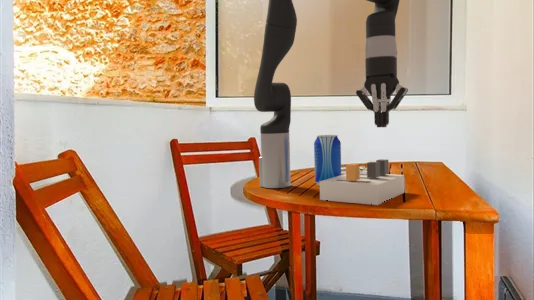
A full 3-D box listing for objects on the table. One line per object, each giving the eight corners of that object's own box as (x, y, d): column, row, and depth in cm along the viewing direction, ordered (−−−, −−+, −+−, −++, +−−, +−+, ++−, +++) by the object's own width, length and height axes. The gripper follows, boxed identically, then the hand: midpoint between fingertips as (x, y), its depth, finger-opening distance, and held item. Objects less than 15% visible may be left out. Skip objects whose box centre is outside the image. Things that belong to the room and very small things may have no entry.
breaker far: (376, 174, 127) (376, 160, 127) (380, 173, 129) (380, 159, 129) (384, 175, 126) (384, 160, 125) (388, 173, 128) (388, 159, 128)
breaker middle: (367, 177, 122) (366, 162, 121) (371, 176, 124) (371, 161, 124) (375, 178, 120) (375, 163, 120) (379, 176, 123) (379, 161, 122)
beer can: (340, 187, 141) (339, 135, 140) (313, 187, 143) (312, 136, 142) (342, 183, 149) (341, 134, 148) (316, 183, 151) (315, 135, 150)
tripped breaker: (346, 180, 118) (346, 164, 118) (351, 178, 121) (350, 163, 120) (354, 180, 117) (354, 165, 116) (359, 179, 119) (359, 163, 119)
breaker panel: (320, 199, 121) (319, 180, 120) (351, 188, 137) (351, 172, 137) (377, 205, 112) (377, 184, 111) (404, 192, 128) (404, 174, 127)
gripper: (349, 58, 113) (350, 128, 114) (402, 52, 105) (403, 127, 106) (361, 60, 119) (362, 127, 120) (412, 55, 111) (413, 126, 112)
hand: (381, 127), depth 113 cm, fingers closed
